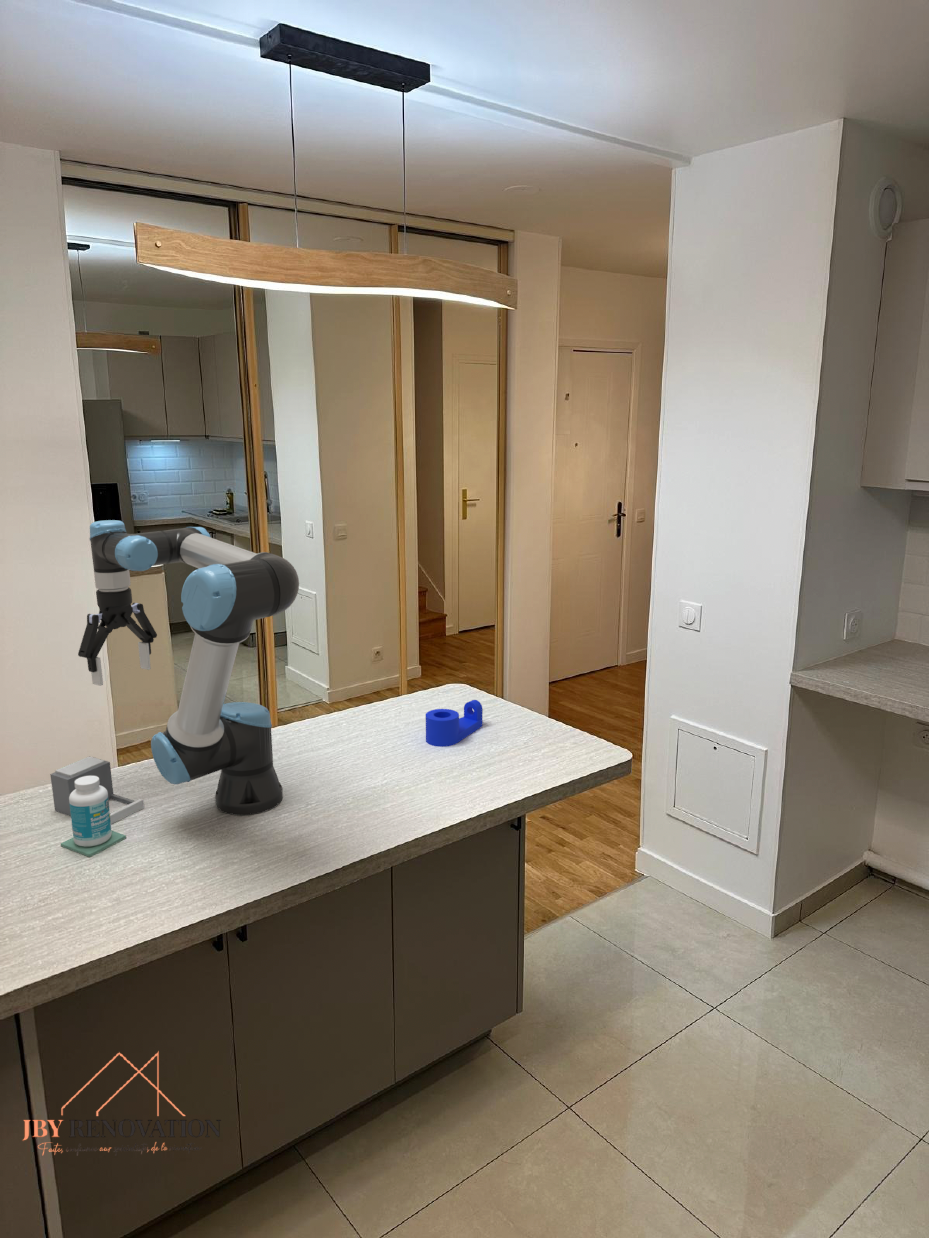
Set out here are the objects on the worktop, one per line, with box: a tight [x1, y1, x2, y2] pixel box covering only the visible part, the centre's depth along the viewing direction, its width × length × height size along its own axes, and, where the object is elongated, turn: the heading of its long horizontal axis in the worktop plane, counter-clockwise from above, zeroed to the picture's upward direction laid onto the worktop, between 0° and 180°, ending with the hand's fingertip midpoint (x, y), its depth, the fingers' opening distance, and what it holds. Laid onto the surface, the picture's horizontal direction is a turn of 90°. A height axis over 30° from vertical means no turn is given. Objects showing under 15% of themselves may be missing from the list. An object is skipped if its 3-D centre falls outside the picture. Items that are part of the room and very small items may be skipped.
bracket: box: [425, 699, 483, 748], centre depth 236 cm, size 20×9×8 cm, turn 142°
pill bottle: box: [69, 776, 113, 847], centre depth 177 cm, size 8×7×14 cm
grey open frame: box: [49, 756, 145, 825], centre depth 192 cm, size 16×11×10 cm
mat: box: [60, 830, 127, 858], centre depth 179 cm, size 9×9×1 cm
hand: (122, 676), depth 201 cm, fingers open, 13 cm apart
